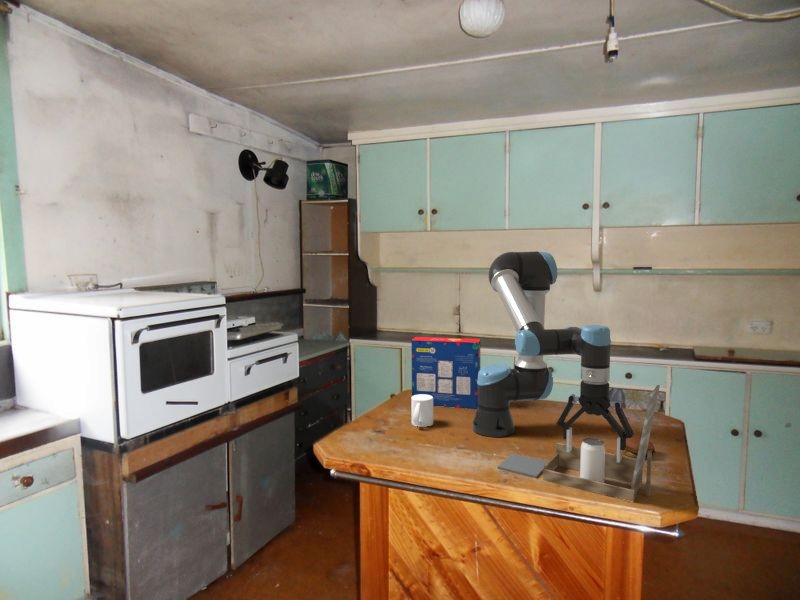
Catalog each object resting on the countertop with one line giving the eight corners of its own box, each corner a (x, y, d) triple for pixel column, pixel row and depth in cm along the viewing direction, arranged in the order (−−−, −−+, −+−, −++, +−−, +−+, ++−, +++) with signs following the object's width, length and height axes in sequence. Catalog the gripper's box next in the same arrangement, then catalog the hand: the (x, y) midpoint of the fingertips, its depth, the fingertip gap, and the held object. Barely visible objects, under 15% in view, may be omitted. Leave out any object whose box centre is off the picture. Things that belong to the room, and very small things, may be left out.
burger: (615, 453, 168) (615, 439, 168) (631, 446, 174) (632, 433, 173) (644, 463, 160) (645, 448, 160) (660, 456, 166) (661, 442, 165)
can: (606, 488, 144) (607, 446, 142) (581, 486, 145) (582, 444, 144) (602, 478, 150) (603, 437, 149) (578, 476, 151) (579, 436, 150)
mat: (497, 468, 157) (497, 466, 157) (513, 455, 167) (513, 453, 167) (536, 478, 150) (536, 476, 150) (550, 463, 160) (550, 461, 160)
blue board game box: (480, 403, 222) (480, 339, 219) (478, 409, 215) (478, 342, 212) (416, 399, 229) (415, 337, 226) (411, 405, 221) (411, 340, 219)
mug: (435, 395, 199) (426, 404, 188) (435, 421, 200) (426, 431, 189) (415, 393, 202) (404, 401, 191) (415, 419, 203) (405, 429, 192)
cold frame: (543, 479, 149) (544, 381, 146) (556, 464, 159) (558, 372, 156) (647, 505, 134) (652, 395, 131) (655, 487, 144) (659, 385, 141)
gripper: (546, 378, 149) (545, 450, 150) (641, 390, 134) (638, 470, 136) (554, 373, 155) (553, 443, 156) (646, 384, 141) (644, 460, 142)
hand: (593, 455), depth 146 cm, fingers open, 13 cm apart
